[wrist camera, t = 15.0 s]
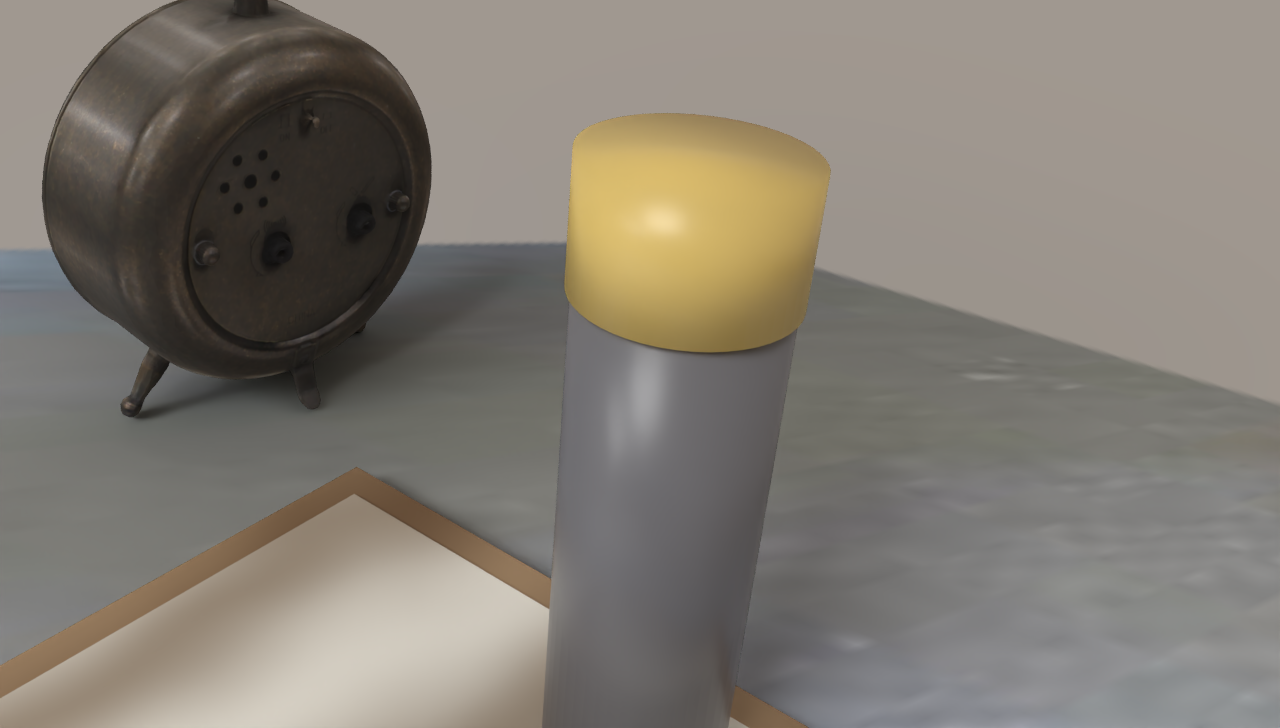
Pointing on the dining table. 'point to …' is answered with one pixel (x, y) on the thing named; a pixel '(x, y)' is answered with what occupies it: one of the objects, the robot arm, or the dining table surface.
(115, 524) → the dining table surface
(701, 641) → the marker
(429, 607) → the wooden picture frame
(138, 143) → the alarm clock
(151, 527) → the dining table surface
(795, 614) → the dining table surface
